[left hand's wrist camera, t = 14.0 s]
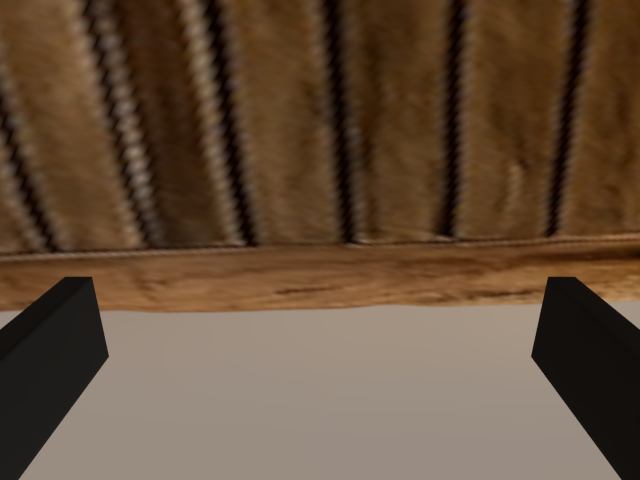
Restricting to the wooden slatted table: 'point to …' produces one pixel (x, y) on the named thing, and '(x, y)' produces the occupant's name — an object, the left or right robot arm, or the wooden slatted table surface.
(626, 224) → the wooden slatted table surface
